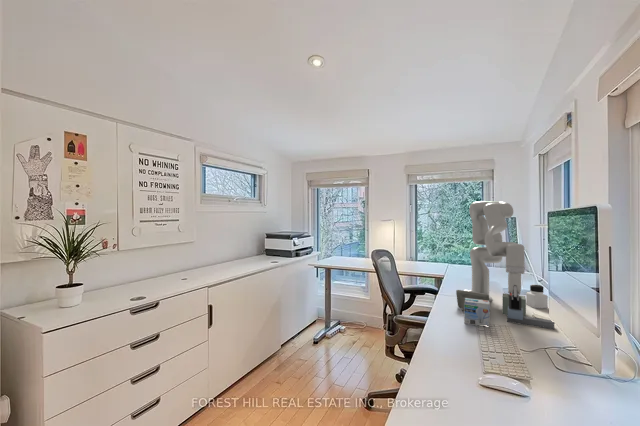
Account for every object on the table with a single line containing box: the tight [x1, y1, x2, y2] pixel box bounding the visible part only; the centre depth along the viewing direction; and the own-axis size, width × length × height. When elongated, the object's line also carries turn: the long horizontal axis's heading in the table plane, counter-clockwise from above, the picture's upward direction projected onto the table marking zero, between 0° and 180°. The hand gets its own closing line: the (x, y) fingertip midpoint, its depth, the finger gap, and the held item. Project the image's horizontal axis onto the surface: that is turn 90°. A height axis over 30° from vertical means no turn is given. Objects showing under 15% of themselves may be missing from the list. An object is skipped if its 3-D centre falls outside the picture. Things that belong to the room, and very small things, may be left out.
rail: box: [506, 313, 555, 331], centre depth 139 cm, size 18×4×3 cm, turn 57°
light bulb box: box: [463, 298, 491, 327], centre depth 141 cm, size 11×7×11 cm, turn 62°
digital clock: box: [455, 289, 491, 312], centre depth 159 cm, size 16×9×11 cm, turn 38°
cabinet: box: [502, 293, 527, 316], centre depth 154 cm, size 10×8×9 cm
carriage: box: [508, 295, 523, 320], centre depth 142 cm, size 6×7×10 cm
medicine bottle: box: [525, 284, 549, 309], centre depth 167 cm, size 7×7×12 cm
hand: (515, 307), depth 142 cm, fingers closed on carriage, 2 cm apart
